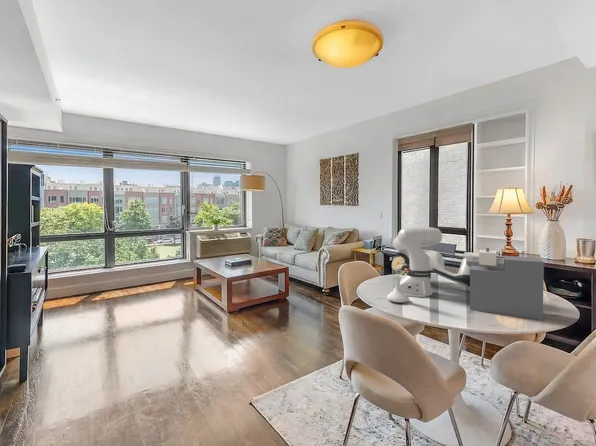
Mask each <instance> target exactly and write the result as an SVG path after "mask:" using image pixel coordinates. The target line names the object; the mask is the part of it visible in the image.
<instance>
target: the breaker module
mask: <svg viewBox="0 0 596 446" xmlns="http://www.w3.org/2000/svg"><path fill="white" fill-rule="evenodd" d="M478 253H479V254H478V256H479V265H492V266H496V258H497V251H496V250H492V249H490V248H489V247H486V249H479V251H478Z"/></svg>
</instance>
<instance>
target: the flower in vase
mask: <svg viewBox="0 0 596 446" xmlns="http://www.w3.org/2000/svg"><path fill="white" fill-rule="evenodd" d="M404 262H405V259H404V258H402V257H401V256H400V257H397V258H396V257H395V258H393V259H392V262H391V268H392V270H393V271H394V272H395V273H397V274H393V275H392V277H393V278H394V281H395V290H394V291H393V292H392V291H391V292H390V293H388V294H387V296H386V298H387V299H388V301H391V302H393V303H407V302H408V301H409V299H410V297H409V296H407V295H406V294H405V293H403V292H402V291H401V289H400V281H401V278H402V277H404V276H405V275H406V272H405V270H402V269H403V267H404V266H405V265H404V264H405V263H404ZM398 270H400V272H399V271H398Z"/></svg>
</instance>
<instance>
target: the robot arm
mask: <svg viewBox="0 0 596 446" xmlns="http://www.w3.org/2000/svg"><path fill="white" fill-rule="evenodd" d="M442 240H443V234H442V231H441V229H439V228H437V227H429V226H423V227H422V226H421V227H420V226H419V227H418V226H417V227H406V228H402V229H400V230H399V232H398V233H397V236H396V237H395V238H394V239H393V241H392V246H393V248H394V250H397V252H396V253H395V258H397V257H400V256H401V257H402V258H404V259H405V262H404V263H405V264H404V265H403V266H405V267H407V266H409V268H404V272H405V275H403V277H402V278H401V281H400V289H401V291H402V292H403V293H405V294H406V295H407V296H408V297H414V298H415V297H416V298H425V297H429V296H433V294H434V292H433V290H432V286H431V279H432V273H431V271H432V272H433V273H435V274H436V275H438V276H441V277H443V278H444V279H447V280H449V281H452V282H455V283H457V284H459V285H460V286H462V287H466V288H470V268H471V265H475V266H487V267H500V268H504V257H496V266H492V265H479V255H478V256H477V255H466V256H465V257H463V258H462V261H461V264H460V266H459V270H458V272H457V273H453V272H452V271H448V270H446V269H445V260H444V259H445V258H444V256H443V255H442V254H441V253H440V252H438V251H435V250H431V249H424V247H430V246H436V245H439V244H441V242H442ZM431 269H432V270H431ZM395 287H396V286H395ZM395 287H393V288H392V289H391V290H392V291H394V290H395ZM392 291H391V292H392Z"/></svg>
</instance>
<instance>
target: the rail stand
mask: <svg viewBox="0 0 596 446" xmlns="http://www.w3.org/2000/svg"><path fill="white" fill-rule="evenodd" d="M503 258H504V268H500V267H487V266H475V265H471V268H470V287H469V310H471V311H478V312H485V313H491V314H497V315H504V316H511V317H519V318H525V319H532V320H538V321H543V320H544V319H543V316H544V315H543V313H544V281H545V280H544V279H545V278H544V276H545V261H543V260H542V258H541V257H530V256H529V257H527V256H526V257H525V256H513V255H511V256H509V255H504V256H503Z"/></svg>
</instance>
